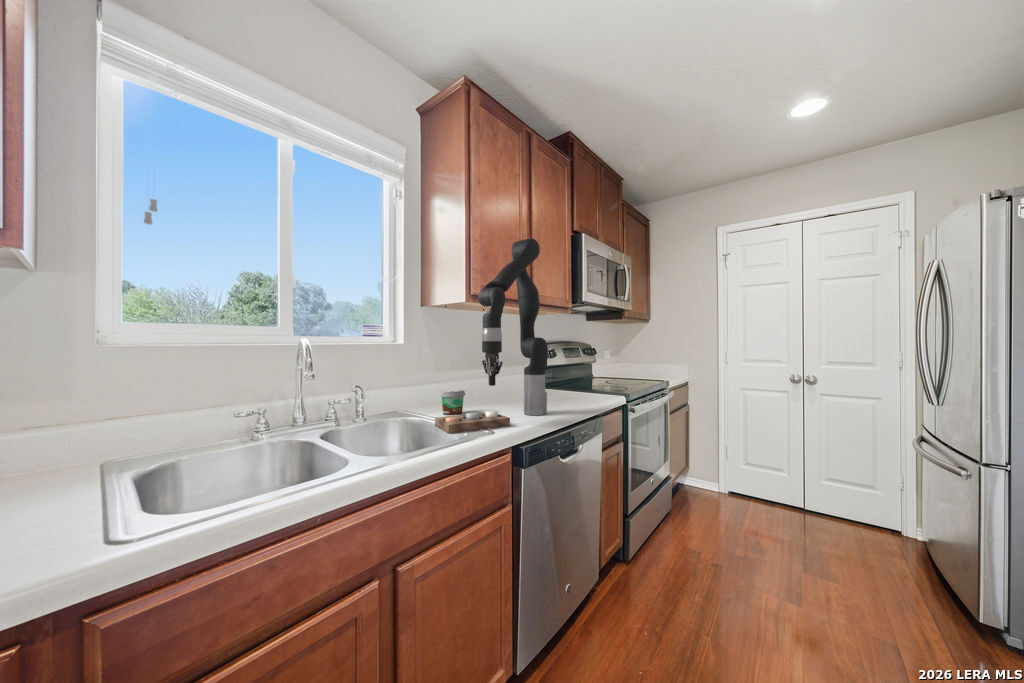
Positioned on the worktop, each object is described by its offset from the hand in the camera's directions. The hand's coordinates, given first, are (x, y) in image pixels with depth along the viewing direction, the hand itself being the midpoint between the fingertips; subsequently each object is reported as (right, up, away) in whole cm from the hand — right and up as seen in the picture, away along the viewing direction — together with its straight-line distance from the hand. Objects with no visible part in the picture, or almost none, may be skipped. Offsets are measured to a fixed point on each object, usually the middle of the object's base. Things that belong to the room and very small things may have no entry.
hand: (492, 385), depth 146 cm
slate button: (-7, -13, -4) cm, 15 cm away
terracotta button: (-14, -14, -8) cm, 21 cm away
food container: (-17, -15, +19) cm, 29 cm away
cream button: (0, -13, 0) cm, 13 cm away
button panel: (-7, -15, -4) cm, 17 cm away
